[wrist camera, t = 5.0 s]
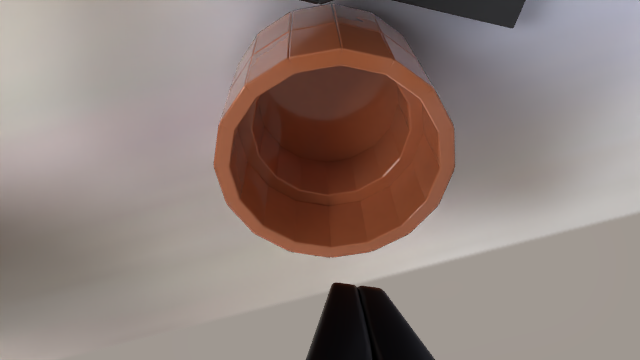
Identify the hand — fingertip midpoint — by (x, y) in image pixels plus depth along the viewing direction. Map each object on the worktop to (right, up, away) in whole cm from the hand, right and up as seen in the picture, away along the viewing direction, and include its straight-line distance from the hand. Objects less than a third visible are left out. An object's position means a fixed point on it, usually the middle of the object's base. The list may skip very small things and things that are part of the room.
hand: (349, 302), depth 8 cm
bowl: (0, +5, +10) cm, 11 cm away
